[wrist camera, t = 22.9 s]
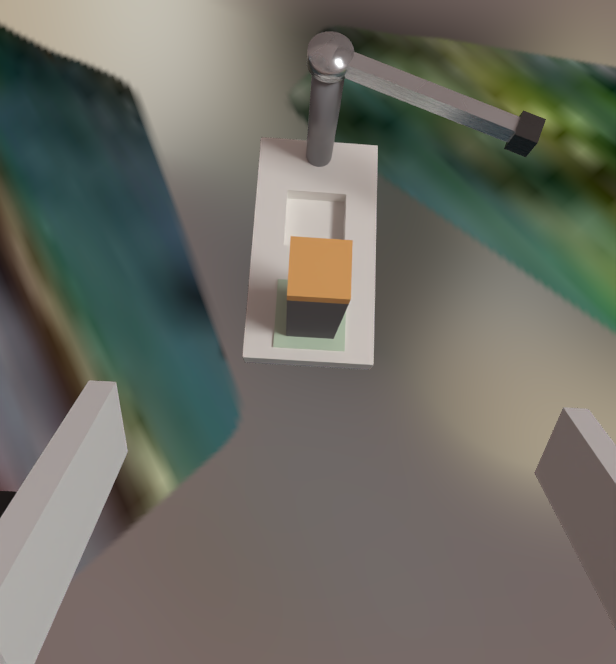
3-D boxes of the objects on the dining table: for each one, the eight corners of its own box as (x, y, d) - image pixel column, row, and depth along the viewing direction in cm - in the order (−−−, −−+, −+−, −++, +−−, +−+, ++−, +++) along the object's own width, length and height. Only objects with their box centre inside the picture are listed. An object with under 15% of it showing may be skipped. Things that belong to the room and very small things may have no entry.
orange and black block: (288, 291, 42) (290, 236, 31) (335, 293, 42) (352, 240, 31) (286, 336, 41) (286, 295, 30) (333, 338, 41) (350, 299, 30)
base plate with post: (262, 152, 48) (254, 43, 35) (373, 161, 48) (405, 55, 35) (244, 362, 43) (227, 324, 30) (368, 369, 43) (404, 335, 30)
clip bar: (299, 75, 35) (300, 57, 33) (317, 41, 35) (318, 22, 34) (523, 164, 34) (534, 150, 32) (536, 127, 34) (548, 112, 33)
